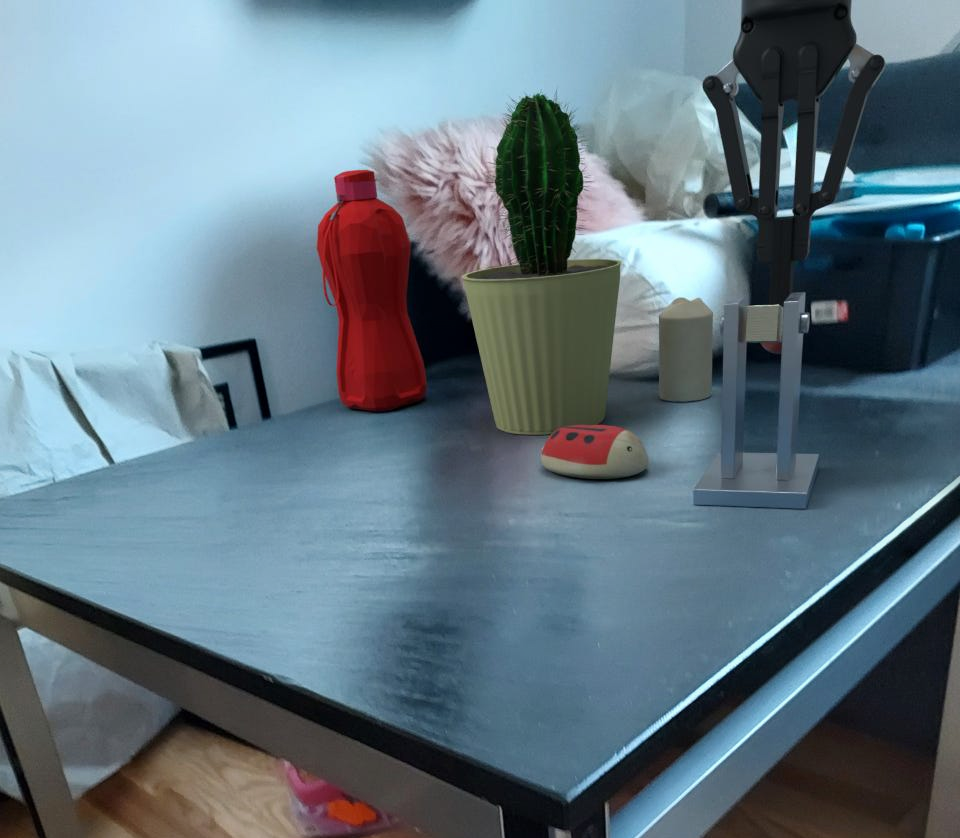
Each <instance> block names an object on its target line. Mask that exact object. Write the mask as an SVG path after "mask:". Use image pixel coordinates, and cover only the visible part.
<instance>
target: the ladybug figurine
mask: <svg viewBox="0 0 960 838" xmlns="http://www.w3.org/2000/svg"><path fill="white" fill-rule="evenodd" d="M540 450H541V451H540V452H541V453H540V464H541V465H542V467H543V468H545V469H546V470H548V471H550V472H552V473H554V474H558V475H560V476H561V475H562V476H566V477H572V478H579V479H587V480H588V479H589V480H591V479H592V480H612V479H613V480H614V479H623V478H628V477H631V476H635V475H638V474H640V473H642V472H643V471H644V470H646V469H647V468H648V467H649V464H650V459H649V455H648V451H647V450H646V448H645V446H644V445H643V442H642V441H641V439H639V437H637V436H636V435H635V434H634V433H632V432H631V431H630V430H628V429H626V428H623V427H619V426H612V425H606V424H605V425H604V424H597V425H595V424H593V425H572V426H566V427H562V428H559V429H557V430H556V431H555V432H554V433H552V434H550V435H549V437H548V438H547V440H546V441H545V443H544V445H543V446H542V448H541V449H540Z"/></svg>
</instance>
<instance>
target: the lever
mask: <svg viewBox="0 0 960 838" xmlns="http://www.w3.org/2000/svg"><path fill="white" fill-rule="evenodd" d="M783 312H784V308H783V307H782V306H780V305H769V304H762V305H760V304H759V305H748V306H747V315H746V332H745V342H747V343H749V344H757V343H758V344H760V345H761V346H762V348H764V349H765V350H766V351H767V352H769V353H772V354H774V355H775V354H776V355H781V353H782V333H783ZM804 334H805V333H803V335H804Z"/></svg>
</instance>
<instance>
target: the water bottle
mask: <svg viewBox="0 0 960 838" xmlns="http://www.w3.org/2000/svg"><path fill="white" fill-rule="evenodd" d="M375 177H376V176H375V171H373V170H370V169H355V170H345V171H341V172H340V173H338V174H337V175H335V176H334V177H333V178H334V179H333V180H334V188H335V193H336V195H335V196H336V201H337V203H336V204H334V205H333V206H332V207H331V208H330V209H328V211H327V212H326V213H325V214H324V215H323V217H322V218H321V220H320V221H319V223H318V225H317V239H316V251H317V254H318V258H319V262H320V266H321V268H322V286H323V292H324V297H325V300H326V302H327V304H328V305H329V306H332V307H336V313H337V318H338V332H337V333H338V334H337V352H336V353H337V354H336V371H335V372H336V382H337V392H338V396H339V399H340V401H341V404H342V405H343V406H345V407H346V408H348V409H353V410H362V411H363V410H364V411H368V412H369V411H370V412H375V413H376V412H387V411H388V412H389V411H392V410H395V409H399V408H401V407H404V406H408V405H411V404H415V403H418V402H420V401H422V399H424V398H425V396H426V393H427V387H428V382H427V376H426V370H425V369H426V368H425V363H424V360H423V357H422V353H421V351H420V348H419V344H418V341H417V338H416V335H415V333H414V329H413V326H412V323H411V320H410V317H409V314H408V303H407V302H408V301H407V292H408V283H409V281H408V280H409V270H410V261H411V260H410V259H411V248H412V244H411V240H410V238H409V234H408V231H407V228H406V224H405V221H404V218H403V216H402V215H401V214H400V213H399V212H398V211H397V210H396V209H395V208H394V207H393V206H392V205H389V204H388V203H386V202H384V201H383V200H381V199H379V198H378V191H377V183H376V182H377V181H378V180H377V179H376V178H375ZM326 281H327V282H326ZM327 284H328V286H329V289H330V292H331V294H332V298H333V300H334V304H333V303H331V300H330V298H329V296H328V291H327Z"/></svg>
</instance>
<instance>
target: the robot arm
mask: <svg viewBox="0 0 960 838" xmlns="http://www.w3.org/2000/svg"><path fill="white" fill-rule="evenodd" d="M852 2H853V0H741V3H740V4H741V5H740V7H741V8H740V9H741V11H740V31H739V35H738V38H737V41H736V43H735V45H734V47H733V50H732V59H731V60H730V61H729V62H727V63H726V64H725V65H724V66H723V67H721V68H720V69H719V70H718V71H717V72H716V73H715V74H712V75H708V76H706V77H705V78H704V79H703V81H702V83H701V84H702V85H701V87H702V90H703V93H704V94H705V95H706V97H707V99H708V100H709V102H710V104H711V105H712V107H713V108H714V110H715V115H716V120H717V124H718V130H719V136H720V139H721V144H722V145H721V146H722V150H723V155H724V159H725V165H726V169H727V175H728V180H729V185H730V189H731V195H732V201H733V204H734V208H735V209H736V210H737V212H744V213H746V214H748V215H752V216H754V217H755V218H756V219H757V246H756V247H757V248H756V257H757V260H758V263H759V264H764V263H770V272H769V273H770V274H769V296H768V305H780V306H782V307H783V308H784V302H785V300H786V299H787V298H788V297H789V295H790V294H791V293H794V292H793V291H794V277H795V262H802V261H803V262H804V261H806V260H807V257H808V256H809V253H810V247H811V231H812V230H811V229H812V217H813V215H814V214H815V212H816V211H818V210H820V209H822V208H825V207H827V206H830V205H831V204H833V203H834V202H835V201H836V200H837V199H838V196H839V193H840V190H841V187H842V183H843V180H844V176H845V172H846V170H847V166H848V163H849V159H850V156H851V154H852V153H851V152H852V150H853V147H854V143H855V139H856V136H857V133H858V130H859V127H860V123H861V121H862V116H863V113H864V109H865V108H866V103H867V100H868V96H869V94H870V93H871V91H872V89H873V88H874V86H875V85H876V83H877V82H878V80H879V78H881V76H882V74H883V73H884V72H885V69H886V65H887V64H886V63H887V62H886V60H885V58H884V57H883V56H882V55H881V54H874V53H872V52H871V51H869V50H867V49H866V48H865V47H863V46H861V45H859V44H858V43H857V38H858V37H857V33H856V32H857V31H856V30H855V28H854V25H853V22H852ZM847 60H848V61H849V69H848V72H847V79H848V81H849V82H850V83H852V85H851V87H850V89H849V92H848V95H847V98H846V101H845V103H844V108H843V111H842V114H841V118H840V120H839V121H840V122H839V124H838V128H837V131H836V135H835V139H834V142H833V144H832V145H833V146H832V149H831V152H830V156H829V159H828V164H827V166H826V170H825V173H824V177H823V180H822V184H821V186H820V190H818V191H816V192H814V191H815V173H816V159H817V158H816V155H817V140H818V139H817V138H818V123H819V122H818V121H819V112H820V99H821V97H822V96H823V95H824V94H825V93H826V92H827V90H828V89H829V88H830V86H831V84H832V83H833V82H834V80H835V78H836V77H837V75H838V74H839V73H840V71H841V70H842V68H843V66H844V65H845V64H846V62H847ZM739 75H740V76H742V78H743V80H744V81H745V83H746V84H747V86H748V87H749V89H750V91H751V92H752V93H753V95H754V97H755V98H756V99H757V100H758V101H759V102H760V103H761V104H760V106H761V107H760V109H761V110H760V118H761V129H760V130H761V131H760V153H759V154H760V155H759V174H758V175H759V176H758V177H759V179H758V195H755V193H754V188H753V187H754V186H753V181H752V177H751V173H750V172H751V171H750V167H749V161H748V156H747V151H746V146H745V140H744V135H743V131H742V125H741V120H740V114H739V109H738V106H737V104H736V101H735V97H736V96H737V94H738V93H739V90H740V89H739V88H740V87H739V83H738V78H739ZM791 101H796V102H797V111H796V115H797V126H796V147H795V165H794V183H793V184H794V185H793V203H792V204H793V206H792V208H791V212H792V215H789V216H778V212H779V210H780V207H779V196H780V195H779V194H780V191H779V190H780V177H781V158H782V157H781V156H782V155H781V154H782V139H783V138H782V135H783V119H784V114H785V113H784V112H785V104H786V103H789V102H791Z"/></svg>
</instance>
